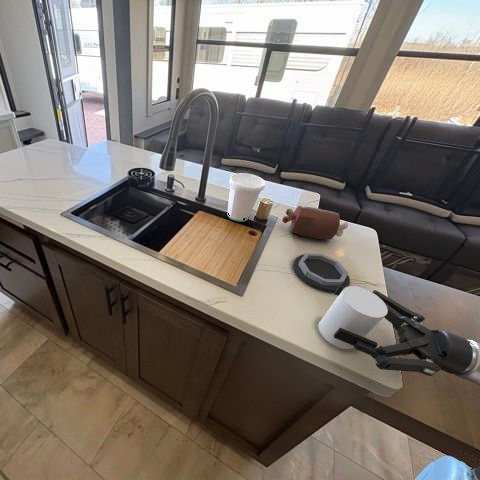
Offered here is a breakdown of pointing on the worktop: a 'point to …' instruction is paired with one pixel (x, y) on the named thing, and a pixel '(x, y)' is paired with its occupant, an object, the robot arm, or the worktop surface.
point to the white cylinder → (352, 314)
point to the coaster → (321, 272)
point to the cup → (243, 195)
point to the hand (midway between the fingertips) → (336, 309)
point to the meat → (315, 222)
